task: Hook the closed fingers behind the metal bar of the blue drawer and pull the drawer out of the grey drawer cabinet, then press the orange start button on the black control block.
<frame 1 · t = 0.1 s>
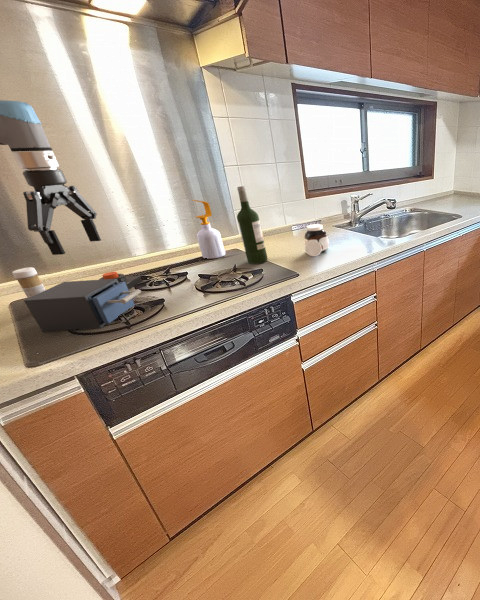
hand: (78, 247, 95), 18 cm above the worktop, tool pointing down, fingers open, 13 cm apart
soap bottle: (214, 256, 145), on the worktop
wine bottle: (258, 261, 137), on the worktop
grey drawer cabinet: (89, 318, 94), on the worktop
spread jar: (317, 253, 145), on the worktop
start button: (110, 275, 112), point 4 cm above the worktop, slide at 0.1 cm
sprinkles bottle: (46, 311, 99), on the worktop
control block: (116, 287, 114), on the worktop
blue drawer: (101, 302, 92), point 5 cm above the worktop, slide at 1.0 cm
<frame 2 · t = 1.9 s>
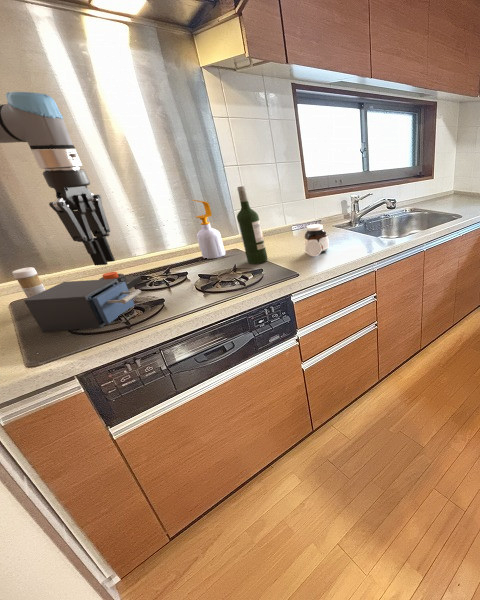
hand: (105, 262, 87), 16 cm above the worktop, tool pointing down, fingers open, 2 cm apart
nothing on the worktop moved.
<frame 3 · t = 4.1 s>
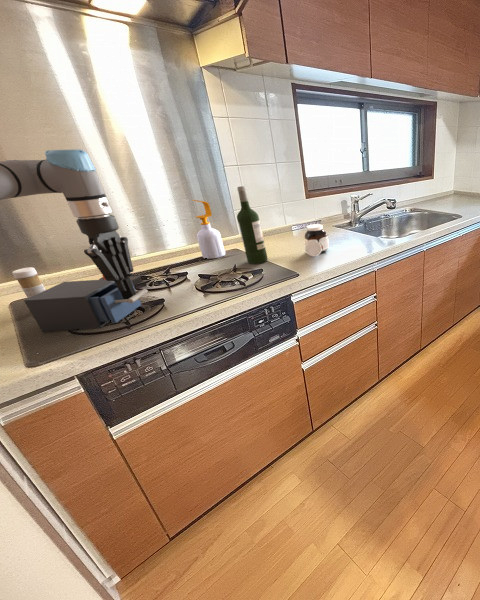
hand: (131, 299, 92), 5 cm above the worktop, tool pointing down, fingers closed
blue drawer: (108, 302, 92), point 5 cm above the worktop, slide at 2.9 cm, touching gripper
everything else where it was.
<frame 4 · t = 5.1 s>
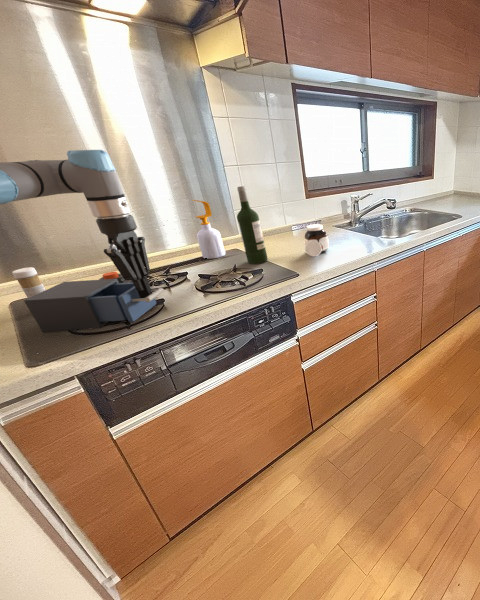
hand: (147, 299, 93), 5 cm above the worktop, tool pointing down, fingers closed
blue drawer: (124, 301, 92), point 5 cm above the worktop, slide at 7.4 cm, touching gripper
everything else where it was.
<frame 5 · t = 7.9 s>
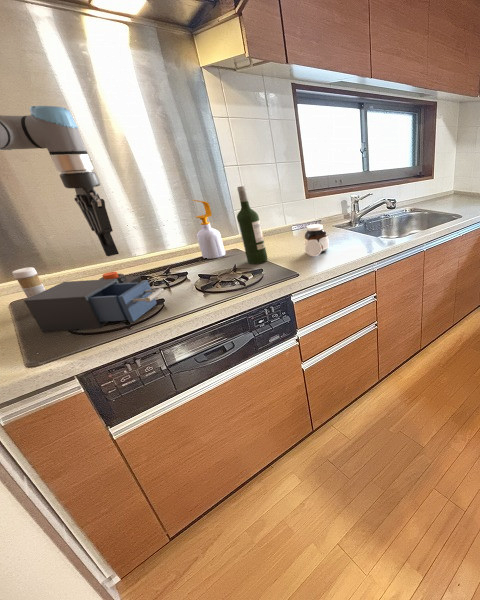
hand: (112, 254, 99), 15 cm above the worktop, tool pointing down, fingers closed
blue drawer: (125, 301, 92), point 5 cm above the worktop, slide at 7.4 cm
everything else where it was.
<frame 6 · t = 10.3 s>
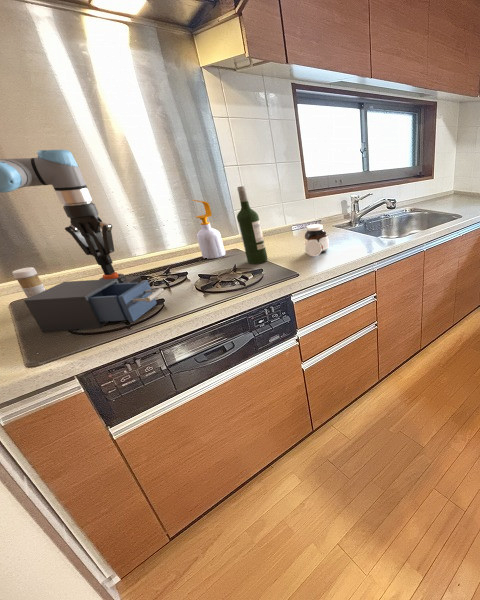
hand: (109, 273, 112), 5 cm above the worktop, tool pointing down, fingers closed
start button: (110, 276, 112), point 4 cm above the worktop, slide at -0.1 cm, touching gripper
everything else where it was.
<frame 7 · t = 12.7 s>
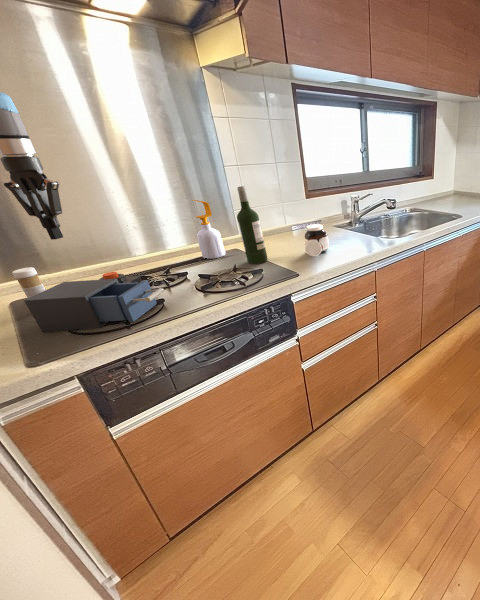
hand: (57, 238, 101), 19 cm above the worktop, tool pointing down, fingers closed
start button: (110, 275, 112), point 4 cm above the worktop, slide at 0.1 cm
everything else where it was.
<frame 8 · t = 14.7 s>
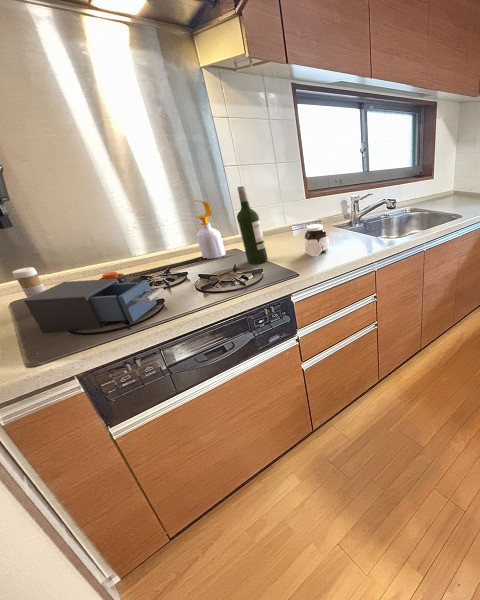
hand: (6, 227, 94), 24 cm above the worktop, tool pointing down, fingers closed
nothing on the worktop moved.
at the end: blue drawer slide at 7.4 cm; start button pushed in 1.0 cm at the most during the clip, back to where it started at the end; start button slide at 0.1 cm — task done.
